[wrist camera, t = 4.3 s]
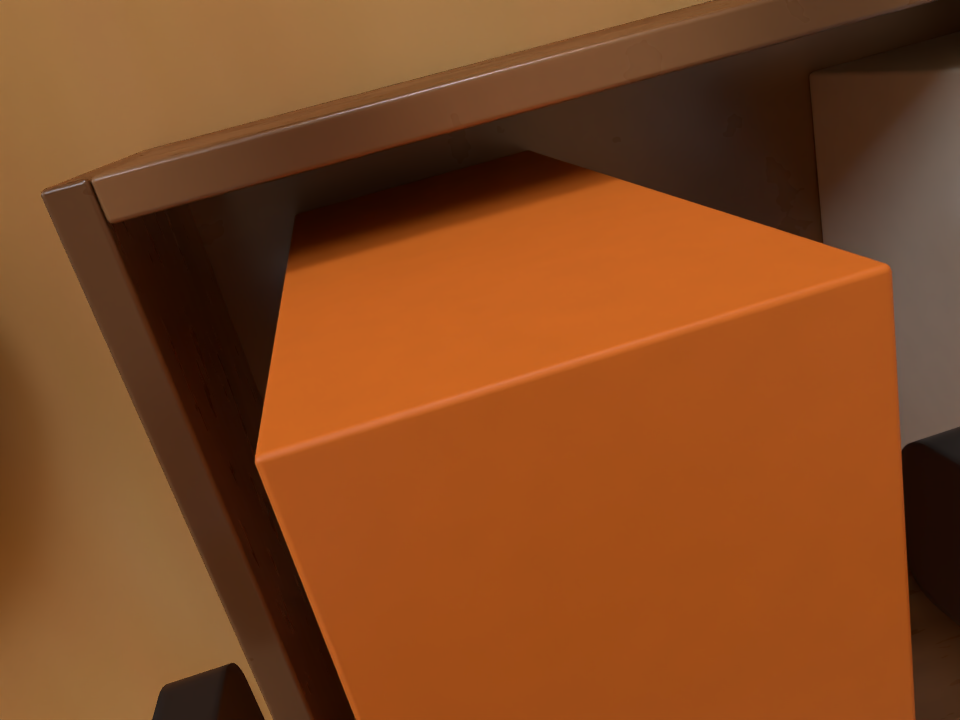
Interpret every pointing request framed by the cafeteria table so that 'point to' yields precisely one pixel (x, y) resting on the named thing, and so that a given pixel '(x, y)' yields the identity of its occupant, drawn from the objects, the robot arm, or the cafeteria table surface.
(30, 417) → the cafeteria table surface
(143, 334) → the brown wooden tray
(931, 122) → the block
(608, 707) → the block
